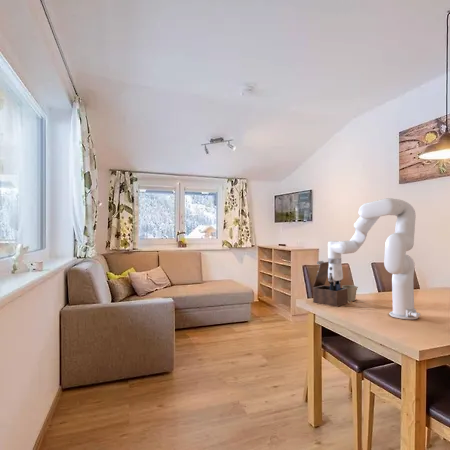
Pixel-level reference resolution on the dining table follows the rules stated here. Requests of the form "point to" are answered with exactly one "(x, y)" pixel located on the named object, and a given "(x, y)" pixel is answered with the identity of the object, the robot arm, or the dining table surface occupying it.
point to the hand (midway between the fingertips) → (335, 291)
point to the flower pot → (351, 292)
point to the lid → (321, 274)
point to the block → (338, 287)
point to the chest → (330, 296)
